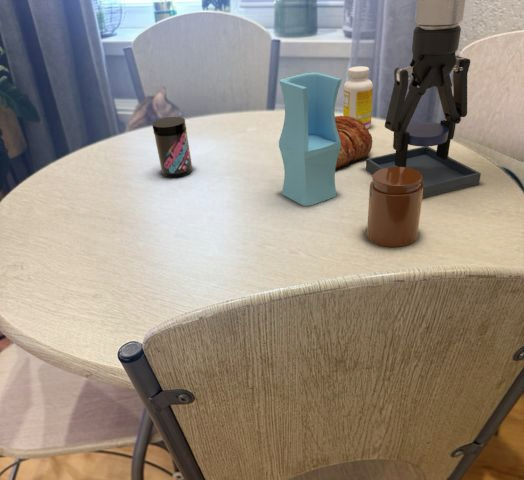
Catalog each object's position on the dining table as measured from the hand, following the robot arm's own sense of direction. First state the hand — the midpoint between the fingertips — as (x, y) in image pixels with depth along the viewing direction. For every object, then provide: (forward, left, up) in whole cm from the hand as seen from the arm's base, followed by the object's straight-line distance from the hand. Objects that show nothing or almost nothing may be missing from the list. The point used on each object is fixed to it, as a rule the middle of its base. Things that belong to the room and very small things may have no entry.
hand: (421, 161), depth 102 cm
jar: (-18, +17, -3) cm, 25 cm away
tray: (0, 0, -3) cm, 3 cm away
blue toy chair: (+3, +22, -3) cm, 22 cm away
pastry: (+18, +8, -3) cm, 20 cm away
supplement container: (+28, +42, -3) cm, 51 cm away
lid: (0, 0, +6) cm, 6 cm away
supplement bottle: (+33, -4, -3) cm, 33 cm away
